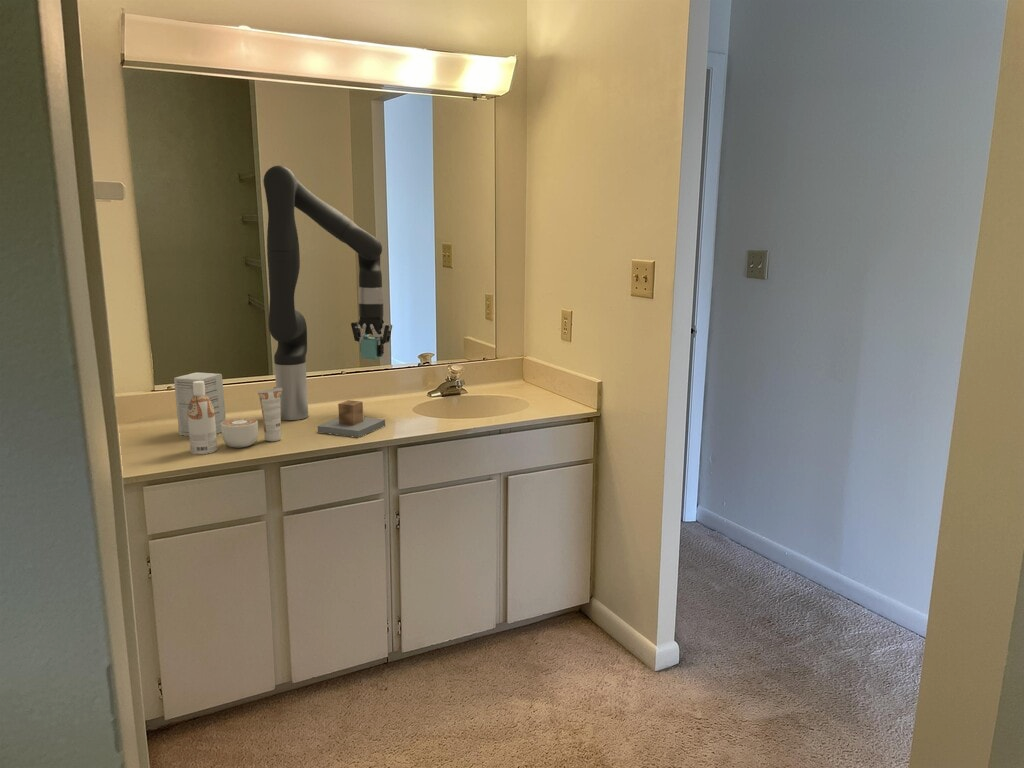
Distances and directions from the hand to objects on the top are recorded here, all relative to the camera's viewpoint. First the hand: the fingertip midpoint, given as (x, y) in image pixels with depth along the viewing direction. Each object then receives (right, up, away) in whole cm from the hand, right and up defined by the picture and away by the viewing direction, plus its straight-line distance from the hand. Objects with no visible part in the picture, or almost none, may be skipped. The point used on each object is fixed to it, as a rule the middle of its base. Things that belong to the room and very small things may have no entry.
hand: (372, 355), depth 234 cm
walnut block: (-3, -20, -17) cm, 26 cm away
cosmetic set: (-30, -26, -33) cm, 51 cm away
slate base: (-3, -22, -16) cm, 28 cm away
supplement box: (-45, -23, -21) cm, 55 cm away
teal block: (0, -1, 0) cm, 1 cm away
